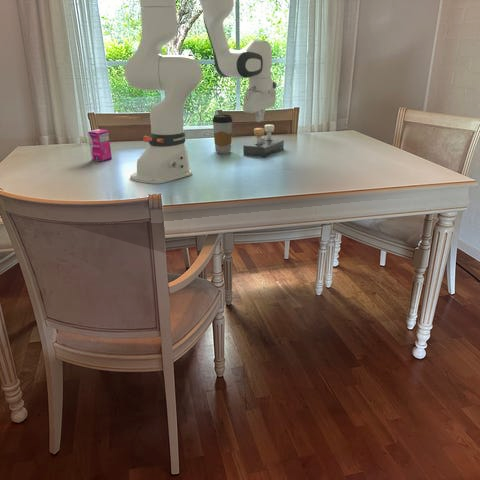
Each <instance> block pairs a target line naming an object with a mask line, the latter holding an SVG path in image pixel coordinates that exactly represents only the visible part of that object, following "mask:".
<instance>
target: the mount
mask: <svg viewBox="0 0 480 480" xmlns="http://www.w3.org/2000/svg"><path fill="white" fill-rule="evenodd" d="M284 144H285V141H284V139H279V138H278V139H277V138H271V142H269V141H267V137H265V142H263V143H261V146H258V145H257V139H256V140H253V141H250V142H248V143H246V144H243V147H242V149H243V150H242V151H243V155H244V156H248V157H249V156H250V157H256V158H262V159H265V158H267V157H270V156H272V155H275V154H276V153H279V152H281V151H283V150H284V147H285V146H284Z"/></svg>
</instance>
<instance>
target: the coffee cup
mask: <svg viewBox="0 0 480 480" xmlns="http://www.w3.org/2000/svg"><path fill="white" fill-rule="evenodd" d="M233 121H234V120H233V118H232V115H231V114H224V113H222V114H213V117H212V121H211V122H212V125H213V127H212V128H213V137H214V138H213V141H214V146H215V147H214V149H215V153H216V154H223V155H225V154H229V153H231V148H232V135H233V133H232V132H233V131H232V129H233Z"/></svg>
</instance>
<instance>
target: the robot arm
mask: <svg viewBox="0 0 480 480" xmlns="http://www.w3.org/2000/svg"><path fill="white" fill-rule="evenodd" d="M198 1H199V3H200V6H201V9H202V15H203V16H202V19H203V24H204V27H205V31H206V33H207V37H208V39H209V43H210V47H211V50H212V52H213V59H214V60H213V62H214V68H215V71H216V72H217V73H218V74H219V76H221V77H222V78H236V79H248V88H247V89H246V91H245V93H244V98H243V105H242V106H243V112H244V113H245V114H253V113H254V117H255V122H256V123H260V122H264V117H265V116H264V115H265V113H266V109H270V108H273V107H275V105H276V94H277V93H276V91H277V90H276V89H277V85H278V84H277V82H275V81H274V80H272V74H271V73H272V72H271V70H272V65H273V61H272V59H273V57H272V56H273V55H272V47H271V44H270V42H269V41H266V40H262V39H252V40H250V42H249V44H248V45H246V46H245V47H243V48H241V49H240V50H239V49H233V48H231V47H230V46H229V43H228V39H227V36H226V32H225V29H224V21H225V19H227V18H228V17H229V16H230V14H231V13H232V11H233V8H234V4H235V0H198ZM139 5H140V6H139V7H140V18H141V21H140V22H141V37H140V41H139V45H138V47H137V49H136V50H135V52H134V53H133V54H132V56H130V58H128V59H127V60H126V61H127V62H126V63H125V67H124V77H125V80H126V82H127V83H128V85H129V86H130V87H131V88H133V89H138V90H142V91H164V92H165V95H164V99H162V100H160V101H158V102H157V103H155V104H154V105H152V107H151V109H150V112H149V116H150V129H151V130H150V131H151V132H150V134H149V135H144V136H143V142H144V143H145V142H147V143H148V146H147V147H146V148H145V150H144V152H143V153H142V154H141V156H139V158H137V161H136V172H135V173H132V174H131V175H129V176H130V179H131V180H132V179H133V180H132V181H134V182H135V181H136V182H139V183H145V184H155V185H156V184H157V185H159V184H164V183H167V182H171V181H174V180H179V179H182V178H185V177H189V176H192V175H193V171H192V170H191V168H190V159H189V154H188V150H187V148H186V145H185V143H186V133H185V131H184V108H185V104H186V102H187V100H188V98H189V96H190V95H191V93H192V92H193V91H194V90H196V89H197V88H198V87H199V85H200V84H201V82H202V79H203V71H202V70H203V69H202V67H201V64H200V62H199V61H198V59H197V58H195V57H191V56H188V55H181V54H179V55H176V54H175V55H172V54H171V55H170V54H169V55H167V54H165V55H163V54H162V49H163V47H164V46H165V45H167V44H168V43H170V42H172V41H173V40H174V39H175V38H176V37H177V35H178V18H177V3H176V0H139Z"/></svg>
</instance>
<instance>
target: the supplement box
mask: <svg viewBox="0 0 480 480" xmlns="http://www.w3.org/2000/svg"><path fill="white" fill-rule="evenodd" d="M87 137H88V144H89V152H90V156H91V161H93V162H94V161H95V162H101V163H103V161H104V162H107V161H109V160H112V159H113V156H112V150H111V143H110V135H109V130H108V129H107V130H106V129H98V128H97V129H94V130H90V131H87Z"/></svg>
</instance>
